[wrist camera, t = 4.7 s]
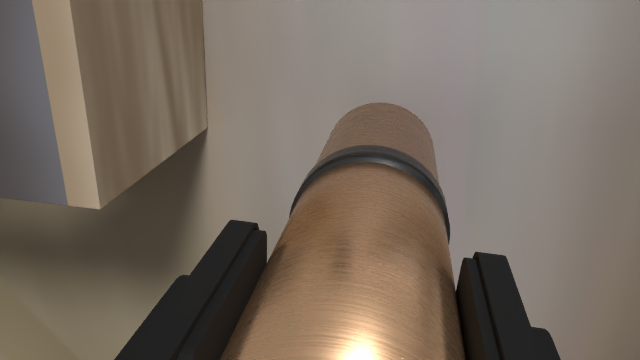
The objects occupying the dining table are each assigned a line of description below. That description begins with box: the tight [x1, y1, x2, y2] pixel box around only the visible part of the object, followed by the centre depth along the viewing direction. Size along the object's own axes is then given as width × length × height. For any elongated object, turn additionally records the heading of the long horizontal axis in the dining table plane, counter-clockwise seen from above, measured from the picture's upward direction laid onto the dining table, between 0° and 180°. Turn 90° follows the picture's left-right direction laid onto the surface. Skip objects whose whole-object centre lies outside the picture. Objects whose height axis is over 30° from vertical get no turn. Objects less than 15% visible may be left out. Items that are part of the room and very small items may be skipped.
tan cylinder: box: [220, 103, 466, 360], centre depth 11 cm, size 4×4×14 cm
